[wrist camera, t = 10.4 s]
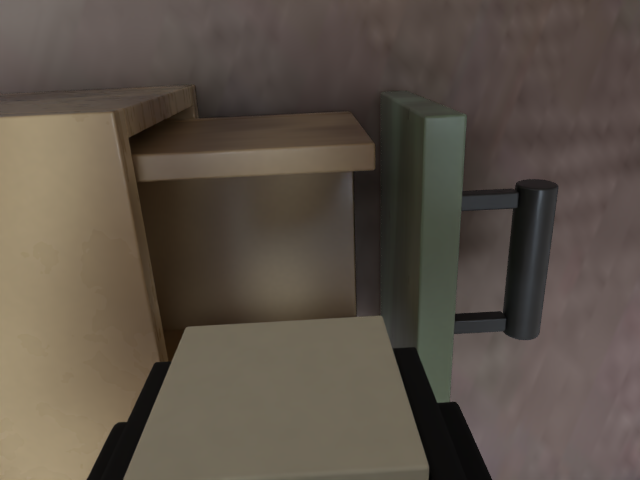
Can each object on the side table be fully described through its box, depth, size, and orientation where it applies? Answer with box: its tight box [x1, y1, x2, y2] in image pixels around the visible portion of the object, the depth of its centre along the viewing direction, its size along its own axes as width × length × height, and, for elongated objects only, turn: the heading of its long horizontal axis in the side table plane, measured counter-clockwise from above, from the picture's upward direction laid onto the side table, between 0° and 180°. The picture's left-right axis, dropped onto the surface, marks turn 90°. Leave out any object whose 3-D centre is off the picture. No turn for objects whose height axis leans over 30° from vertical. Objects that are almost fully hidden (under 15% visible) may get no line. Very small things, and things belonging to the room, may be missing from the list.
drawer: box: [128, 91, 558, 403], centre depth 20 cm, size 18×12×8 cm
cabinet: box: [0, 85, 199, 480], centre depth 19 cm, size 15×13×10 cm
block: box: [123, 316, 429, 480], centre depth 10 cm, size 4×4×4 cm
